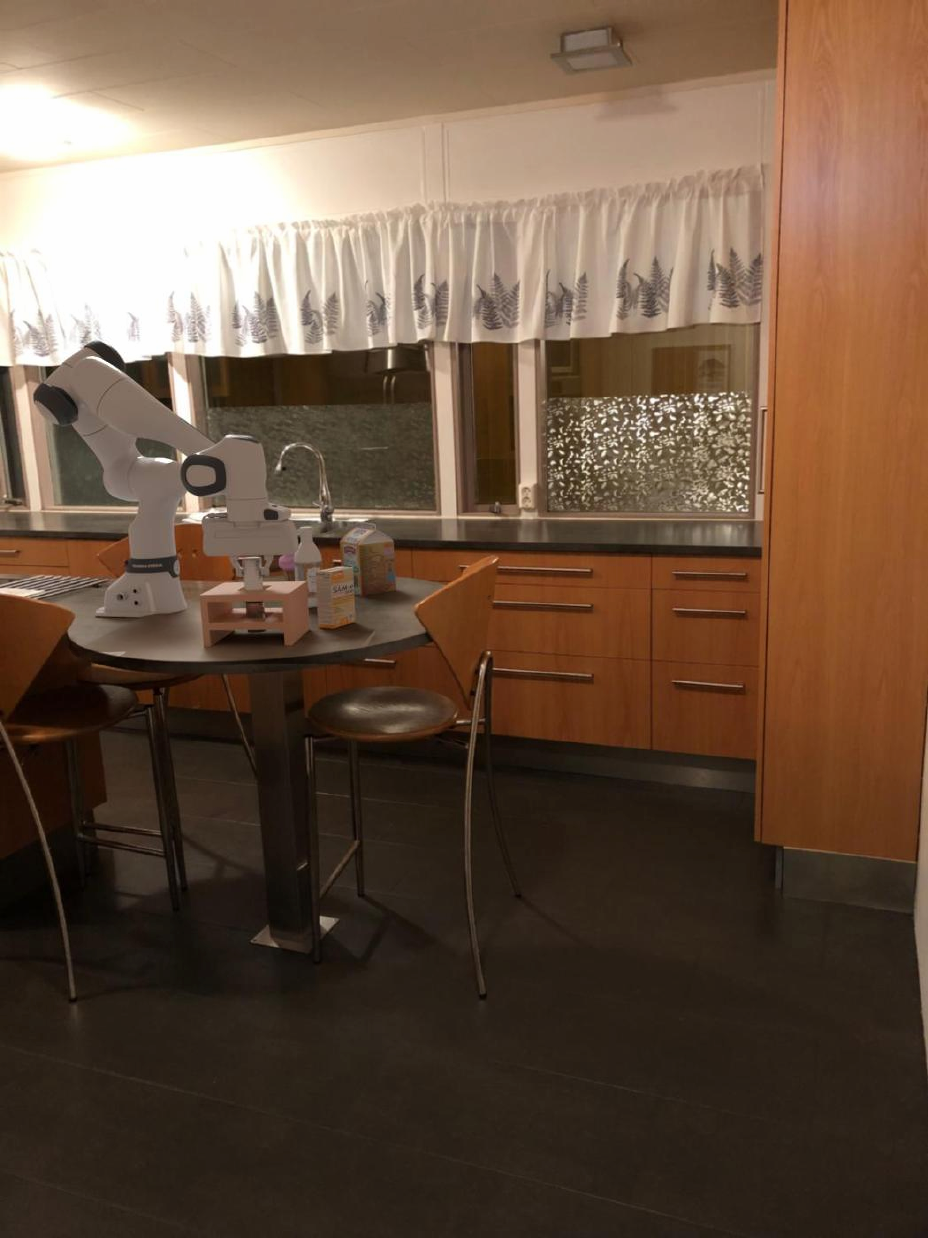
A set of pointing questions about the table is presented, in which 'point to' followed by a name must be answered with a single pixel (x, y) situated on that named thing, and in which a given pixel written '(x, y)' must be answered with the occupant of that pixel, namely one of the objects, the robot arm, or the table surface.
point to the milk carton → (369, 559)
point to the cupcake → (288, 567)
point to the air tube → (253, 588)
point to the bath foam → (308, 564)
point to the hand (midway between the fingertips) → (253, 575)
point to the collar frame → (226, 619)
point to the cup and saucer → (274, 565)
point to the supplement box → (335, 597)
